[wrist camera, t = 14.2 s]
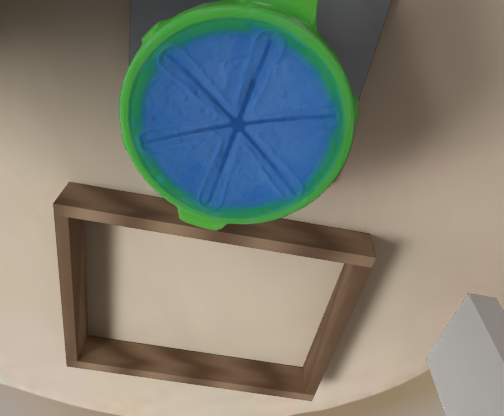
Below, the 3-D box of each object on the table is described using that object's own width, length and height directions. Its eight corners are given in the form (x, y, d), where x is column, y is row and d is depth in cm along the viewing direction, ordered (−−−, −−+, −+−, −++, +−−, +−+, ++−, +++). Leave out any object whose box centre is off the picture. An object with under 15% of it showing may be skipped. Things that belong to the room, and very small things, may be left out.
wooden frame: (78, 340, 45) (66, 366, 42) (69, 182, 34) (53, 203, 32) (309, 374, 47) (311, 401, 44) (369, 233, 36) (376, 257, 33)
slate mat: (128, 146, 32) (126, 150, 32) (136, -101, 24) (133, -101, 23) (328, 182, 33) (329, 186, 33) (402, -42, 25) (405, -41, 25)
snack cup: (263, 190, 33) (261, 286, 25) (129, 130, 31) (76, 213, 22) (390, -16, 25) (450, 23, 17) (222, -119, 23) (193, -134, 14)
